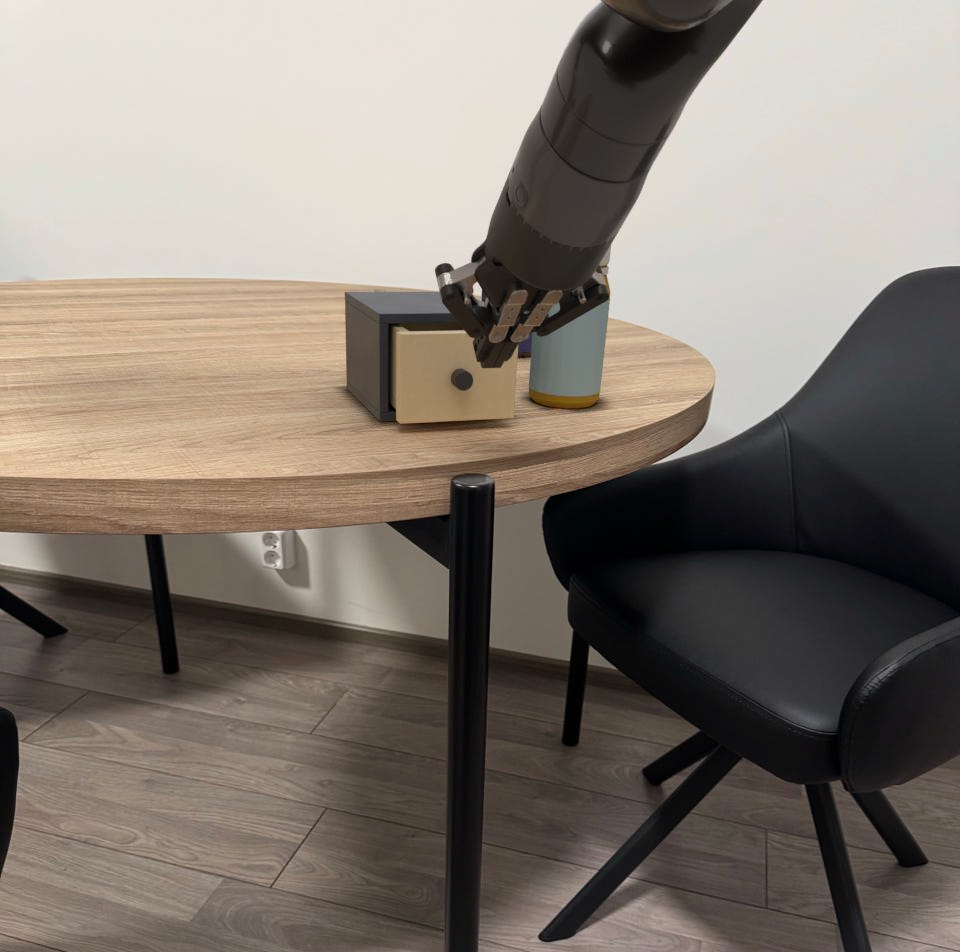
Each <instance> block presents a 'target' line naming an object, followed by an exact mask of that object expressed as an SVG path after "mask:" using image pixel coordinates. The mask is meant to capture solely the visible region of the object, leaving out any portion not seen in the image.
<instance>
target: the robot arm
mask: <svg viewBox="0 0 960 952" xmlns="http://www.w3.org/2000/svg"><path fill="white" fill-rule="evenodd" d="M763 1H764V0H599V2H598V3H597V4H596V5H595V6H593V8H591V10H590V11H588V12H587V13H586V15H585V16H584V17H582V20H581V21H580V22H579V23H578V25H577V26H576V28H575V29H574V31H573V32H572V34H571V35H570V37H569V39H568V41H567V43H566V45H565V47H564V49H563V52H562V54H561V56H560V59H559V62H558V64H557V66H556V68H555V71H554V74H553V76H552V79H551V81H550V83H549V86H548V88H547V90H546V93H545V95H544V98H543V101H542V103H541V105H540V107H539V109H538V111H537V112H536V114H535V116H534V117H533V119H532V121H531V122H530V123H529V125H528V128H527V129H526V131H525V134H524V136H523V138H522V140H521V143H520V145H519V147H518V150H517V152H516V155H515V158H514V160H513V163H512V165H511V167H510V169H509V173H508V175H507V177H506V179H505V182H504V185H503V187H502V189H501V191H500V194H499V197H498V200H497V202H496V204H495V207H494V210H493V212H492V214H491V218H490V220H489V226H488V228H487V229H488V230H487V233H486V238H485V240H484V241H483V242H481V244H480V245H479V246H478V247H476V248H475V250H474V251H473V252H472V254H471V257H470V262H468V263H466V264H464V265H462V266H459V267H457V268H454V266H453V265H452V264H451V263H448V262H443V263H440V264H438V265H437V266H436V267H435V269H434V272H435V279H436V282H437V287H438V292H440V295H441V299H442V303H443V304H444V305H445V307H446V308H447V309H448V310H449V312H450V313H451V314H452V315H453V317H454V318H455V319H456V320H457V322H458V323H459V324H460V325H461V327H462V328H463V329H464V330H465V332H466V333H467V334H468V335H469V337H471V338H474V340H473V347H474V351H475V356H476V360H477V362H480V364H481V367H482V368H501V367H502V365H503V363H504V361H508V360H509V359H510V358H511V357H512V355H513V353H514V351H515V349H516V347H517V346H518V344H519V342H521V341H523V340H525V339H526V337H527V336H528V334H529V333H534V332H536V334H537V335H538V336H540V337H543V336H547V335H549V334H551V333H552V332H554V331H556V330H557V329H559V328H561V327H563V326H564V325H566V324H568V323H570V322H571V321H573V320H575V319H576V318H578V317H580V316H582V315H583V314H585V313H587V312H589V311H590V310H592V309H594V308H595V307H597V306H599V305H601V304H602V303H604V302H606V301H607V300H608V299H609V293H608V290H607V287H606V283H605V280H604V276H603V273H602V269H601V266H600V265H599V264H600V262H601V261H602V259H603V257H604V256H605V254H606V252H607V251H608V249H609V247H610V245H611V246H612V244H613V242H614V240H615V238H616V237H617V235H618V234H619V232H620V230H621V228H622V227H623V225H624V223H625V222H626V220H627V218H628V216H629V215H630V213H631V211H632V210H633V208H634V206H635V205H636V203H637V201H638V199H639V197H640V195H641V194H642V190H643V188H644V185H645V183H646V180H647V178H648V175H649V173H650V171H651V168H652V167H653V165H654V164H655V162H656V160H657V158H658V157H659V155H660V153H661V152H662V150H663V148H664V146H665V145H666V143H667V141H668V140H669V137H671V135H672V133H673V131H674V129H675V127H676V125H677V123H678V122H679V120H680V118H681V116H682V114H683V112H684V110H685V107H686V106H687V104H688V102H689V100H690V98H691V97H692V95H693V94H694V92H695V91H696V90H697V88H698V86H700V83H701V82H702V80H703V79H704V78H705V77H706V75H707V74H708V72H709V71H710V70H711V69H712V67H713V66H714V65H715V63H716V62H717V61H718V60H719V59H720V58H721V56H722V55H724V53H725V51H726V50H727V49H728V47H729V46H730V45H731V43H732V42H733V41H734V40H735V39H736V37H737V36H738V34H739V33H740V32H741V30H742V29H743V28H744V26H745V25H746V24H747V23H748V21H749V20H750V19H751V18H752V16H753V14H754V13H756V11H757V9H758V8H759V6H760V5H761V4H762V2H763ZM476 283H477V284H478V285H479V287H480V289H481V291H482V290H483V292H484V293H485V295H486V297H487V298H486V301H485V304H484V307H483V306H479V305H478V301H477V300H476V299H477V298H476V297H475V295H474V291H475V289H474V285H475V284H476ZM558 302H559V305H560V310H559V311H558V312H557V313H555V314H554V315H552V316H550V317H549V314H548V312H549V311H550V309H551V308H552V306H553V305H556V304H557V303H558Z"/></svg>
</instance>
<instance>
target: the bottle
mask: <svg viewBox="0 0 960 952" xmlns="http://www.w3.org/2000/svg"><path fill="white" fill-rule="evenodd" d="M611 251H612V244H611V245H610V247H609V249H608V251H607V252H606V254H605V256H604V257H603V259H602V261H601V262H600V264H599V265H600V266H601V269H602V273H603V276H604V280H605V283H606V287H607V290H608V293H609V299H608V300H607V301H606V302H604V303H602V304H601V305H599V306H597V307H595V308H594V309H592V310H590V311H589V312H587V313H585V314H583V315H582V316H580V317H578V318H576V319H575V320H573V321H571V322H570V323H568V324H566V325H564V326H563V327H561V328H559V329H557V330H556V331H554V332H552V333H551V334H549V335H547V336H543V337H540V336H538V335H537V334H536V332H534V333H532V347H531V356H530V361H529V376H528V394H529V396H530V397H531V399H532V400H533V401H534V402H535V403H536V404H539V405H541V406H546V407H550V408H551V407H552V408H557V409H583V408H588V407H592V406H593V405H595V403H597V401H598V400H599V399H600V393H601V388H602V378H603V370H604V368H603V367H604V360H605V350H606V342H607V341H606V340H607V333H608V332H607V330H608V322H609V312H610V303H611V288H610V284H609V278H608V274H609V269H610V267H609V263H610V261H611ZM559 310H560V305H559V302H558V303H557V304H556V305H553V306H552V308H551V309H550V311H549V312H548V314H549V317H550V316H552V315H554V314H555V313H557V312H558V311H559Z"/></svg>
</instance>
